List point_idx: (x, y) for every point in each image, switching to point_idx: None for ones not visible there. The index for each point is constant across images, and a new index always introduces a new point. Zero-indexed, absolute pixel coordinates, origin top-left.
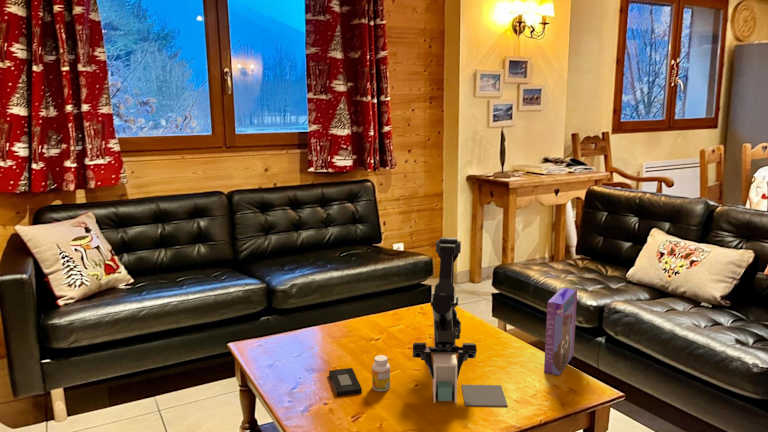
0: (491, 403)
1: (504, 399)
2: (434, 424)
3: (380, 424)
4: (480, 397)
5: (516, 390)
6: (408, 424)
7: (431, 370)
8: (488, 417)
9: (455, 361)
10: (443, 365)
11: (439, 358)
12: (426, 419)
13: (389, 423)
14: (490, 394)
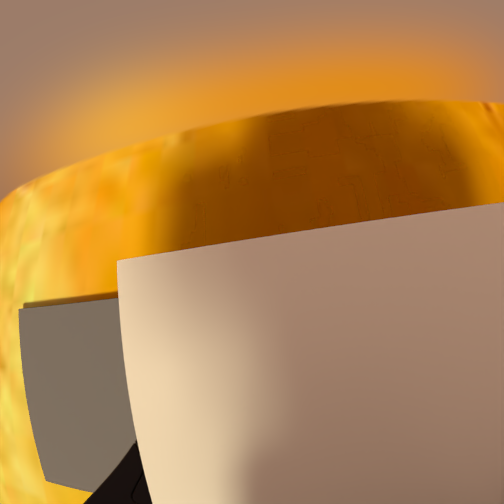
0: (66, 320)
1: (24, 360)
2: (320, 112)
3: (488, 106)
4: (110, 377)
5: (4, 439)
6: (414, 105)
7: None
8: (92, 209)
9: (154, 397)
10: (381, 228)
11: (474, 452)
12: (362, 140)
13: (470, 110)
14: (71, 407)
